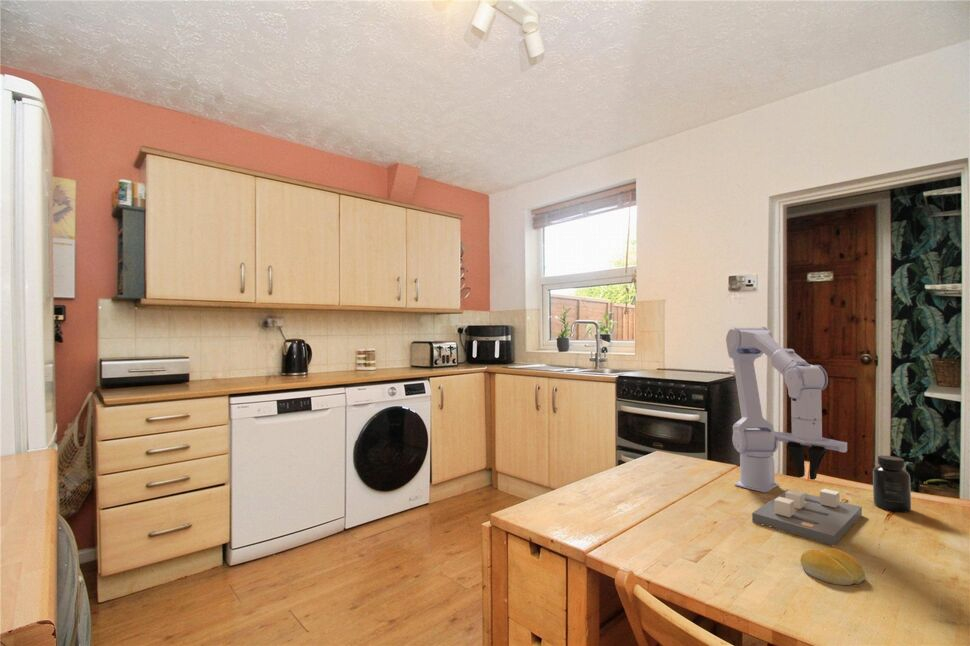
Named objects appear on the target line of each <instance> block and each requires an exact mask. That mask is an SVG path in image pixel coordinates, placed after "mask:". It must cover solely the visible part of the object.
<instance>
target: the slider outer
mask: <svg viewBox="0 0 970 646" xmlns="http://www.w3.org/2000/svg"><path fill="white" fill-rule="evenodd" d="M774 511H775V514H779V515H783V516H786V517H791V516H792V515H794V514H795V508H794V500H791V499H787V498H783V497H778V498H776V499H775V500H774Z"/></svg>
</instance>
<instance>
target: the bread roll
mask: <svg viewBox="0 0 970 646" xmlns="http://www.w3.org/2000/svg"><path fill="white" fill-rule="evenodd" d="M800 565H801V567H802V568H803V570H804V571H805V572H806V573H807V574H808V575H810V576H811V577H813V578H816V579H818V580H819V581H824V582H827V583H829V584H834V585H839V586H851V585H853V584H854V585H855V584H856V585H859V584H861V583H862V582H864V581H865V579H866V574H865V571H864V569H863V567H862V565H861V564H860V562H858V560H856V559H855V558H854V557H853V556H852V555H850V554H849V553H848V552H845V551H843V550H840V549H837V548H832V547H831V548H830V547H828V548H823V549H821V550H814V549H813V550H811V549H810V550H806V551H805V552H803V553H802V554H801V555H800Z"/></svg>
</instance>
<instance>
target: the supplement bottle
mask: <svg viewBox="0 0 970 646" xmlns="http://www.w3.org/2000/svg"><path fill="white" fill-rule="evenodd" d="M876 463H877V466H875V467H874V468H873V469H872V489H873V490H872V492H873V495H872V496H873V504H874V505H875V506H877V507H878V508H880V509H882V508H883V510H886V511H891V512H895V511H896V512H895V513H907V512H908V513H909V512H910V511H911V510H912V494H911V476H910V473H909V472H908V471H907V470H905V469H904V468H905V460H904V458H902V457H898V456H891V455H877V462H876Z"/></svg>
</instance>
